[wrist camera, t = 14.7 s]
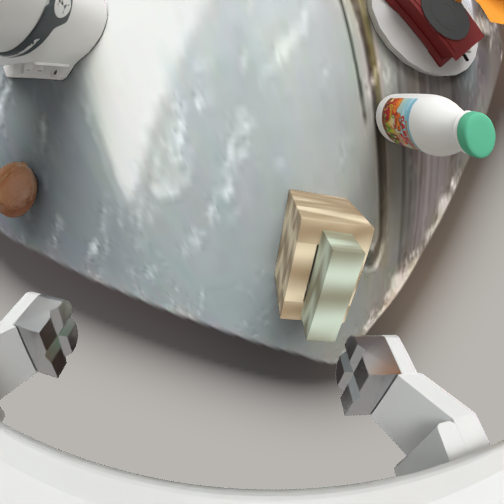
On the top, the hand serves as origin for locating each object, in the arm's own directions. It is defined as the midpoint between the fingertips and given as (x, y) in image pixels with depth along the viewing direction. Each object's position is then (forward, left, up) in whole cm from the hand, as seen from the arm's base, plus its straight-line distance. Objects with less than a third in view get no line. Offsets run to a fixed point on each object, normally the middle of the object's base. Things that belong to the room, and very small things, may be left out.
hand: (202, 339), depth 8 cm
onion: (-38, -7, -37) cm, 54 cm away
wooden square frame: (+12, -12, -37) cm, 41 cm away
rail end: (+12, -12, -29) cm, 34 cm away
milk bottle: (+22, +9, -37) cm, 44 cm away
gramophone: (+25, +28, -37) cm, 53 cm away
